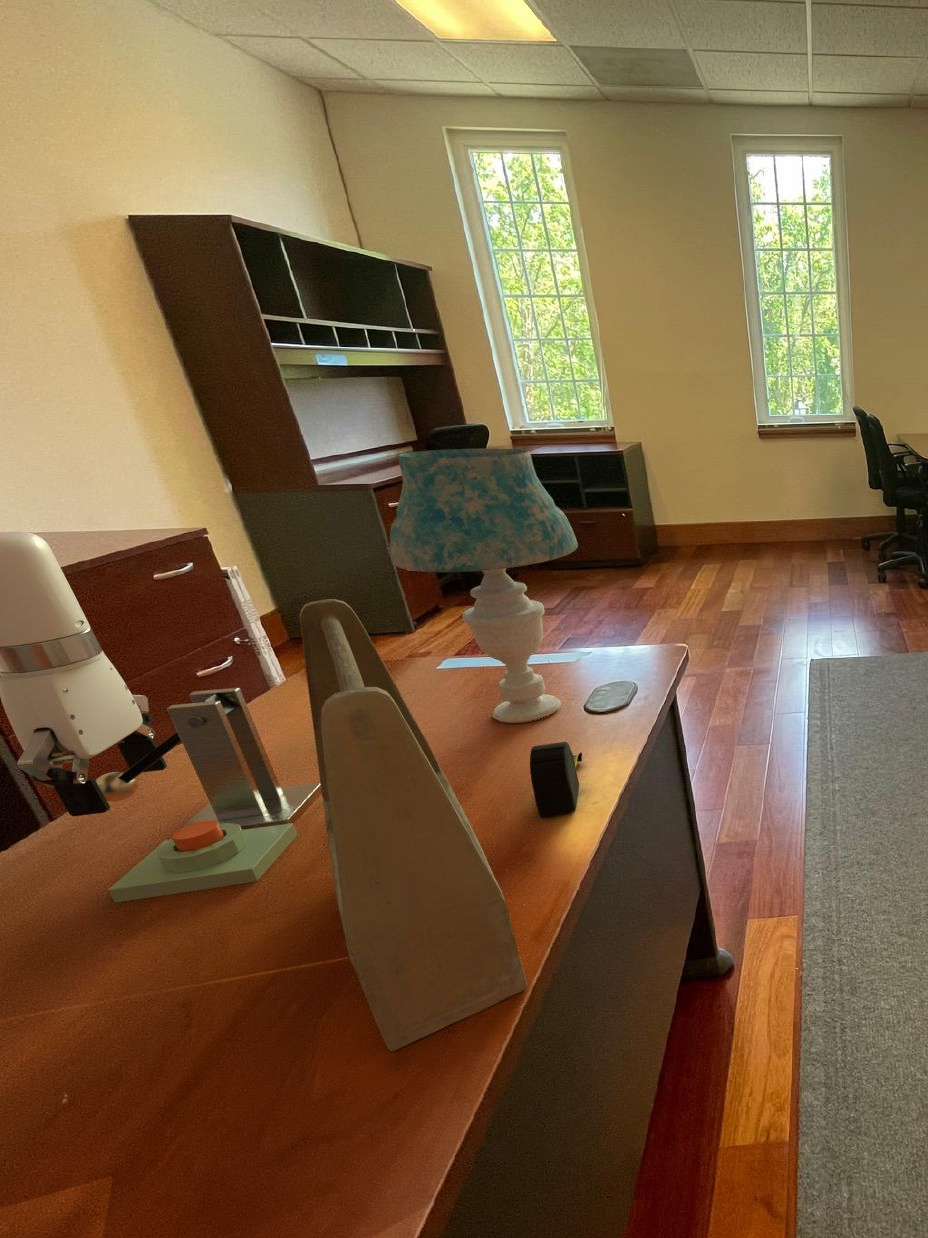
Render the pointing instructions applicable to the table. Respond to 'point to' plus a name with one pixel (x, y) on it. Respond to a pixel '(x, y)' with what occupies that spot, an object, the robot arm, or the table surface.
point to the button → (197, 835)
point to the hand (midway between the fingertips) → (122, 790)
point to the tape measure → (554, 778)
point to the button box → (205, 863)
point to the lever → (142, 765)
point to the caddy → (400, 846)
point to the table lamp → (486, 552)
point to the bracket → (235, 765)
